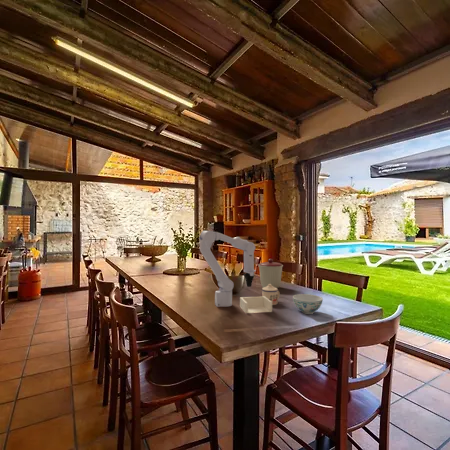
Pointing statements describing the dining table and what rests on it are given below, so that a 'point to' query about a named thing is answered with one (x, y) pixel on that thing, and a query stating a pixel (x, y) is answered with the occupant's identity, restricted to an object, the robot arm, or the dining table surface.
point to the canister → (270, 273)
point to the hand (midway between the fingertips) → (249, 286)
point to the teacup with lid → (271, 293)
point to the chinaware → (307, 303)
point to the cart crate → (255, 304)
